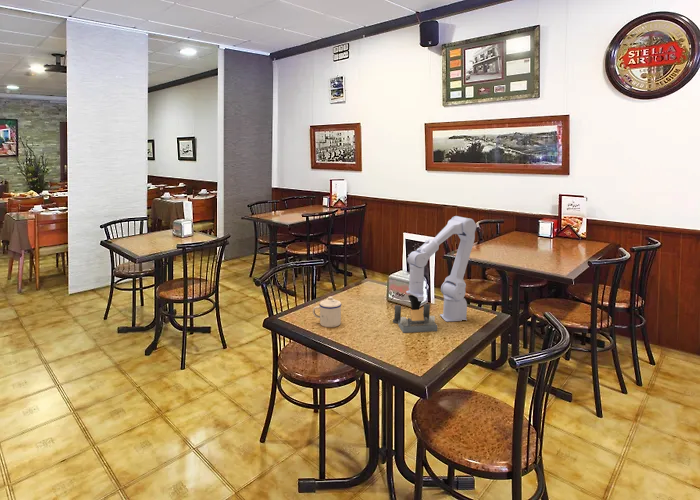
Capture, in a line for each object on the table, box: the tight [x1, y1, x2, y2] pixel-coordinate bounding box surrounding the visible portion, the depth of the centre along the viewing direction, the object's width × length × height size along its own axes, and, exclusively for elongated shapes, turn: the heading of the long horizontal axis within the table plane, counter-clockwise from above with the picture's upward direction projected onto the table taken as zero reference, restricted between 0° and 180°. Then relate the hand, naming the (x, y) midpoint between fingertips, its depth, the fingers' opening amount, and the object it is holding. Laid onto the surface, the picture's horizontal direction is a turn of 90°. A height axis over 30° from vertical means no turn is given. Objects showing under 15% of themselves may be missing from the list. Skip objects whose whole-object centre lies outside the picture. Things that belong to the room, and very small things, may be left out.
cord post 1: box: [392, 304, 402, 325], centre depth 188 cm, size 4×4×7 cm
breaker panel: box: [397, 315, 438, 334], centre depth 181 cm, size 14×8×5 cm, turn 98°
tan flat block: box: [409, 309, 425, 322], centre depth 182 cm, size 6×1×5 cm, turn 98°
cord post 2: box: [422, 303, 431, 318], centre depth 190 cm, size 4×4×7 cm
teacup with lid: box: [312, 296, 342, 328], centre depth 185 cm, size 12×9×12 cm
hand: (415, 312), depth 184 cm, fingers closed, pressing on tan flat block
